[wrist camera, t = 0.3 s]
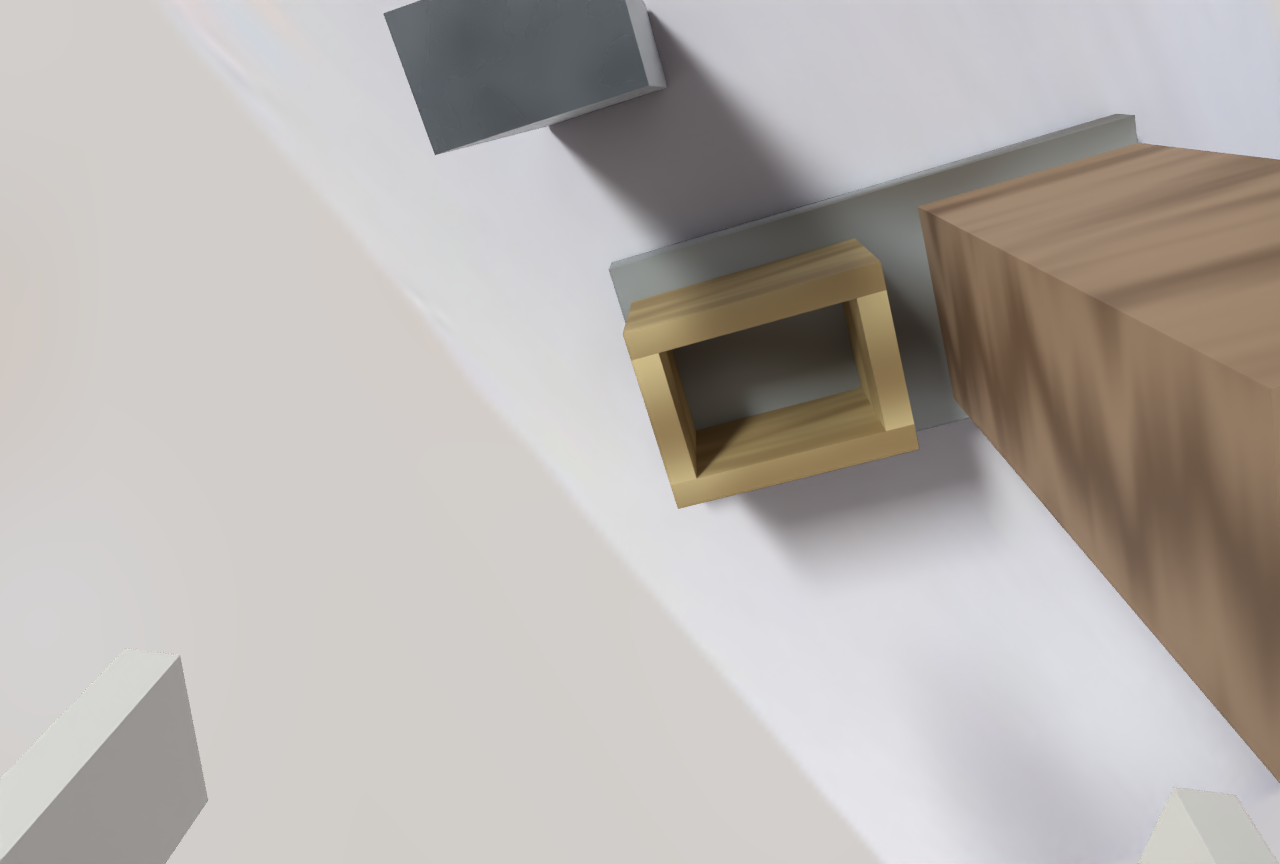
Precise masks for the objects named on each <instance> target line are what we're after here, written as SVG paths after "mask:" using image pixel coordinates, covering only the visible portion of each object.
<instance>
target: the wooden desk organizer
mask: <svg viewBox="0 0 1280 864" xmlns="http://www.w3.org/2000/svg"><path fill="white" fill-rule="evenodd" d="M609 272H610V275H611V278H612V281H613V285H614V288H615V291H616V294H617V297H618V301H619V304H620V307H621V310H622V313H623V316H624V320H625V323H626V325H625V328H624V332H623V336H624V339H625V343H626V346H627V349H628V352H629V355H630V358H631V362H632V365H633V368H634V371H635V374H636V377H637V381H638V384H639V387H640V390H641V393H642V396H643V399H644V403H645V406H646V409H647V412H648V415H649V418H650V422H651V425H652V428H653V431H654V434H655V437H656V441H657V444H658V447H659V450H660V453H661V456H662V460H663V463H664V466H665V469H666V472H667V475H668V479H669V482H670V485H671V488H672V491H673V494H674V498H675V501H676V504H677V507H678V509H680V508H684V507H688V506H692V505H696V504H700V503H704V502H708V501H712V500H716V499H720V498H724V497H728V496H732V495H736V494H740V493H744V492H748V491H752V490H756V489H760V488H764V487H769V486H773V485H777V484H781V483H785V482H789V481H793V480H797V479H801V478H805V477H809V476H813V475H817V474H821V473H825V472H829V471H833V470H837V469H841V468H845V467H849V466H854V465H858V464H862V463H866V462H870V461H874V460H878V459H882V458H886V457H890V456H894V455H898V454H902V453H906V452H910V451H914V450H918V449H919V445H918V440H917V435H916V431H919V430H923V429H927V428H931V427H935V426H939V425H943V424H947V423H951V422H955V421H959V420H963V419H967V418H971V420H972V421H973V422H974V423H975V424H976V425H977V427H978V428H979V429H980V430H981V431H982V433H983V434H984V435H985V436H986V437H987V438H988V440H989V441H990V442H991V443H992V444H993V445H994V447H995V448H996V449H997V450H998V451H999V453H1000V454H1001V455H1002V456H1003V457H1004V458H1005V460H1006V461H1007V462H1008V463H1009V464H1010V466H1011V467H1012V468H1013V469H1014V470H1015V471H1016V473H1017V474H1018V475H1019V476H1020V477H1021V479H1022V480H1023V481H1024V482H1025V483H1026V484H1027V486H1028V487H1029V488H1030V489H1031V490H1032V491H1033V493H1034V494H1035V495H1036V496H1037V497H1038V499H1039V500H1040V501H1041V502H1042V503H1043V504H1044V506H1045V507H1046V508H1047V509H1048V510H1049V512H1050V513H1051V514H1052V515H1053V516H1054V517H1055V519H1056V520H1057V521H1058V522H1059V523H1060V525H1061V526H1062V527H1063V528H1064V529H1065V530H1066V532H1067V533H1068V534H1069V535H1070V536H1071V537H1072V539H1073V540H1074V541H1075V542H1076V543H1077V545H1078V546H1079V547H1080V548H1081V549H1082V550H1083V552H1084V553H1085V554H1086V555H1087V556H1088V558H1089V559H1090V560H1091V561H1092V562H1093V563H1094V565H1095V566H1096V567H1097V568H1098V569H1099V570H1100V572H1101V573H1102V574H1103V575H1104V576H1105V578H1106V579H1107V580H1108V581H1109V582H1110V583H1111V585H1112V586H1113V587H1114V588H1115V589H1116V591H1117V592H1118V593H1119V594H1120V595H1121V596H1122V598H1123V599H1124V600H1125V601H1126V602H1127V604H1128V605H1129V606H1130V607H1131V608H1132V609H1133V611H1134V612H1135V613H1136V614H1137V615H1138V616H1139V618H1140V619H1141V620H1142V621H1143V622H1144V624H1145V625H1146V626H1147V627H1148V628H1149V629H1150V631H1151V632H1152V633H1153V634H1154V635H1155V637H1156V638H1157V639H1158V640H1159V641H1160V642H1161V644H1162V645H1163V646H1164V647H1165V648H1166V650H1167V651H1168V652H1169V653H1170V654H1171V655H1172V657H1173V658H1174V659H1175V660H1176V661H1177V662H1178V664H1179V665H1180V666H1181V667H1182V668H1183V670H1184V671H1185V672H1186V673H1187V674H1188V675H1189V677H1190V678H1191V679H1192V680H1193V681H1194V683H1195V684H1196V685H1197V686H1198V687H1199V688H1200V690H1201V691H1202V692H1203V693H1204V694H1205V695H1206V697H1207V698H1208V699H1209V700H1210V701H1211V703H1212V704H1213V705H1214V706H1215V707H1216V708H1217V710H1218V711H1219V712H1220V713H1221V714H1222V716H1223V717H1224V718H1225V719H1226V720H1227V721H1228V723H1229V724H1230V725H1231V726H1232V727H1233V729H1234V730H1235V731H1236V732H1237V733H1238V734H1239V736H1240V737H1241V738H1242V739H1243V740H1244V741H1245V743H1246V744H1247V745H1248V746H1249V747H1250V749H1251V750H1252V751H1253V752H1254V753H1255V754H1256V756H1257V757H1258V758H1259V759H1260V760H1261V762H1262V763H1263V764H1264V765H1265V766H1266V767H1267V769H1268V770H1269V771H1270V772H1271V773H1272V775H1273V776H1274V777H1275V778H1276V779H1277V780H1278V782H1279V783H1280V160H1277V159H1269V158H1260V157H1252V156H1243V155H1235V154H1226V153H1218V152H1210V151H1201V150H1193V149H1184V148H1176V147H1167V146H1159V145H1151V144H1142V143H1137V134H1136V124H1135V115H1124V114H1115V115H1111V116H1108V117H1104V118H1101V119H1098V120H1094V121H1091V122H1087V123H1084V124H1081V125H1077V126H1074V127H1070V128H1067V129H1064V130H1060V131H1057V132H1053V133H1050V134H1047V135H1043V136H1040V137H1037V138H1033V139H1030V140H1026V141H1023V142H1020V143H1016V144H1013V145H1009V146H1006V147H1003V148H999V149H996V150H992V151H989V152H986V153H982V154H979V155H975V156H972V157H969V158H965V159H962V160H959V161H955V162H952V163H948V164H945V165H942V166H938V167H935V168H931V169H928V170H925V171H921V172H918V173H914V174H911V175H908V176H904V177H901V178H898V179H894V180H891V181H887V182H884V183H881V184H877V185H874V186H870V187H867V188H864V189H860V190H857V191H853V192H850V193H847V194H843V195H840V196H836V197H833V198H830V199H826V200H823V201H820V202H816V203H813V204H809V205H806V206H803V207H799V208H796V209H792V210H789V211H786V212H782V213H779V214H775V215H772V216H769V217H765V218H762V219H758V220H755V221H752V222H748V223H745V224H742V225H738V226H735V227H731V228H728V229H725V230H721V231H718V232H714V233H711V234H708V235H704V236H701V237H697V238H694V239H691V240H687V241H684V242H680V243H677V244H674V245H670V246H667V247H664V248H660V249H657V250H653V251H650V252H647V253H643V254H640V255H636V256H633V257H630V258H626V259H623V260H619V261H616V262H613V263H612V264H611V266H610V268H609Z"/></svg>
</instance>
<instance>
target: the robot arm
mask: <svg viewBox="0 0 1280 864" xmlns="http://www.w3.org/2000/svg"><path fill="white" fill-rule="evenodd" d="M207 801H208V798H207V793H206V787H205V782H204V777H203V772H202V767H201V762H200V757H199V751H198V746H197V742H196V736H195V731H194V725H193V720H192V715H191V710H190V705H189V700H188V695H187V689H186V685H185V679H184V674H183V669H182V664H181V658H180V655H174V654H167V653H159V652H151V651H143V650H136V649H129V648H126V649H125V650H124V651H123V652H122V653H121V654H120V655H119V656H118V657H117V658H116V659H115V660H114V661H113V662H112V663H111V664H110V665H109V666H108V667H107V668H106V669H105V670H104V671H103V673H101V675H100V676H99V677H98V678H97V679H96V680H95V681H94V682H93V683H92V684H91V685H90V686H89V687H88V688H87V689H86V690H85V691H84V692H83V693H82V694H81V695H80V696H79V697H78V698H77V699H76V700H75V701H74V702H73V703H72V704H71V706H70V707H69V708H68V709H67V710H66V711H65V712H64V713H63V714H62V715H61V716H60V717H59V718H58V719H57V720H56V721H55V722H54V723H53V724H52V725H51V726H50V727H49V728H48V729H47V730H46V731H45V732H44V734H42V736H41V737H40V738H39V739H38V740H37V741H36V742H35V743H34V744H33V745H32V746H31V747H30V748H29V749H28V750H27V751H26V752H25V753H24V754H23V755H22V756H21V757H20V759H18V760H17V762H15V763H14V764H13V765H12V766H11V768H10V769H9V770H8V771H7V772H6V773H5V774H4V775H3V776H2V777H1V778H0V864H165V863H166V862H167V860H168V859H169V857H170V856H171V854H172V853H173V851H174V850H175V849H176V847H177V846H178V844H179V843H180V841H181V839H182V838H183V837H184V835H185V834H186V832H187V831H188V829H189V828H190V826H191V825H192V823H193V822H194V820H195V819H196V817H197V816H198V814H199V813H200V812H201V810H202V809H203V807H204V806H205V804H206V803H207ZM1138 864H1279V863H1278V861H1277V860H1276V858H1275V856H1274V855H1273V853H1272V852H1271V850H1270V849H1269V847H1268V845H1267V844H1266V842H1265V841H1264V839H1263V837H1262V836H1261V834H1260V833H1259V831H1258V830H1257V828H1256V826H1255V825H1254V823H1253V822H1252V820H1251V818H1250V817H1249V815H1248V814H1247V812H1246V810H1245V809H1244V807H1243V806H1242V804H1241V802H1240V801H1239V799H1238V798H1237V796H1236V795H1230V794H1223V793H1215V792H1208V791H1200V790H1193V789H1185V788H1178V787H1173V789H1172V791H1171V794H1170V796H1169V798H1168V800H1167V802H1166V804H1165V806H1164V809H1163V811H1162V813H1161V815H1160V817H1159V819H1158V821H1157V824H1156V826H1155V828H1154V830H1153V832H1152V834H1151V837H1150V839H1149V841H1148V843H1147V845H1146V847H1145V849H1144V852H1143V854H1142V856H1141V858H1140V860H1139V862H1138Z"/></svg>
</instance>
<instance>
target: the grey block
mask: <svg viewBox="0 0 1280 864" xmlns="http://www.w3.org/2000/svg"><path fill="white" fill-rule="evenodd" d="M384 16H385V19H386V22H387V25H388V27H389V30H390V33H391V36H392V38H393V41H394V44H395V47H396V49H397V52H398V55H399V58H400V60H401V63H402V66H403V68H404V71H405V74H406V77H407V79H408V82H409V85H410V88H411V90H412V93H413V96H414V99H415V101H416V104H417V107H418V110H419V112H420V115H421V118H422V121H423V123H424V126H425V129H426V131H427V134H428V137H429V140H430V142H431V145H432V148H433V151H434V153H435V155H437V154H441V153H445V152H449V151H453V150H456V149H460V148H464V147H468V146H472V145H476V144H480V143H484V142H488V141H492V140H496V139H499V138H503V137H507V136H511V135H515V134H519V133H523V132H527V131H531V130H535V129H539V128H542V127H546V126H549V125H552V124H555V123H558V122H562V121H565V120H568V119H571V118H574V117H577V116H580V115H583V114H586V113H589V112H592V111H596V110H599V109H602V108H605V107H608V106H611V105H614V104H617V103H620V102H623V101H626V100H630V99H633V98H636V97H639V96H642V95H645V94H648V93H651V92H654V91H657V90H660V89H664V88H667V83H666V80H665V76H664V72H663V68H662V65H661V61H660V57H659V54H658V50H657V46H656V43H655V39H654V35H653V32H652V28H651V24H650V21H649V17H648V13H647V10H646V6H645V3H644V1H643V0H420V1H417V2H415V3H412V4H409V5H406V6H403V7H401V8H398V9H395V10H392V11H389V12H386V13H384Z"/></svg>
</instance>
